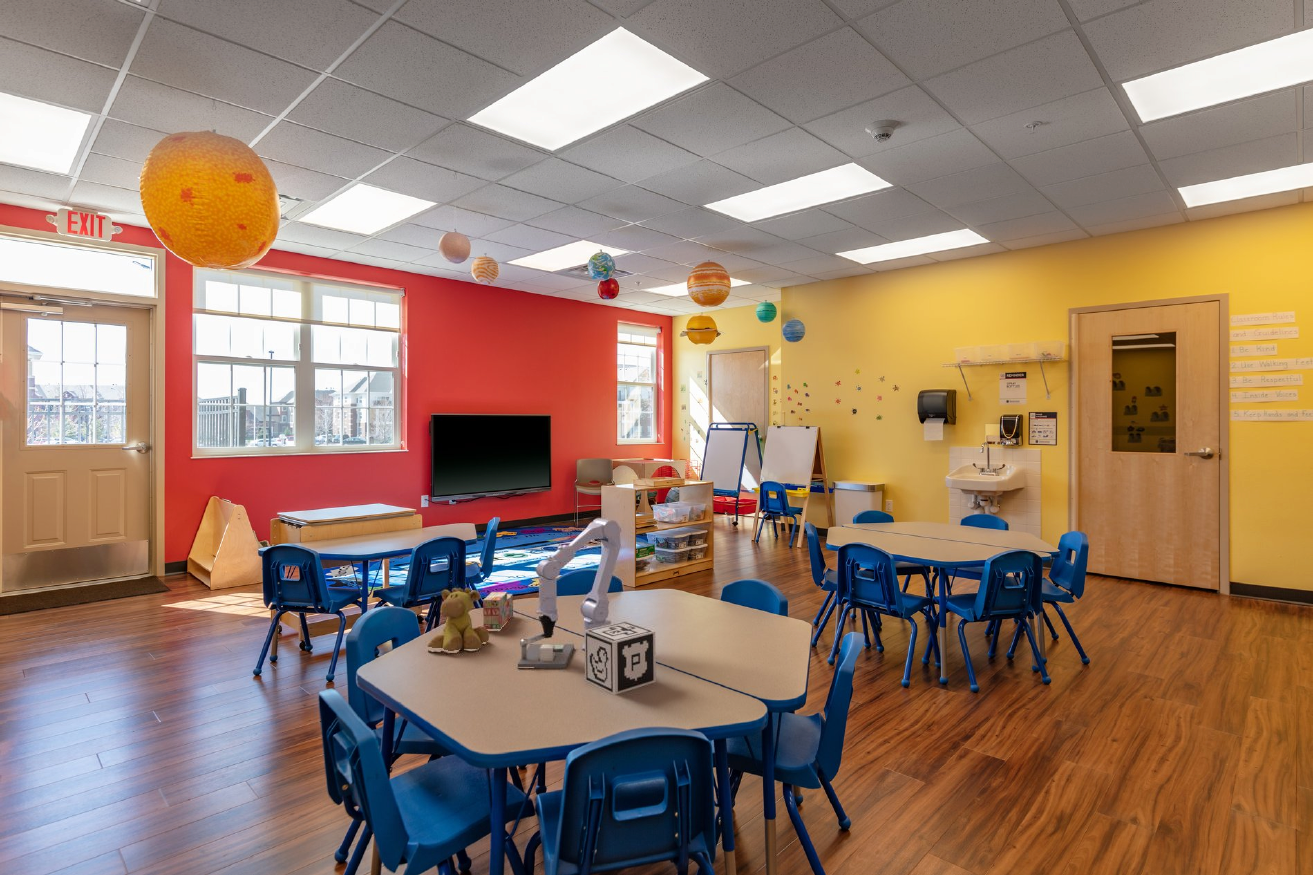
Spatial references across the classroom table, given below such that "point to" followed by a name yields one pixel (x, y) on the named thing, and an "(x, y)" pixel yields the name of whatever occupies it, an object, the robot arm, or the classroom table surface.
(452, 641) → the giraffe plush
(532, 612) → the classroom table surface
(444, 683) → the classroom table surface
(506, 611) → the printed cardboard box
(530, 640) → the ball-topped lever
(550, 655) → the plug
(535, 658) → the socket plate
